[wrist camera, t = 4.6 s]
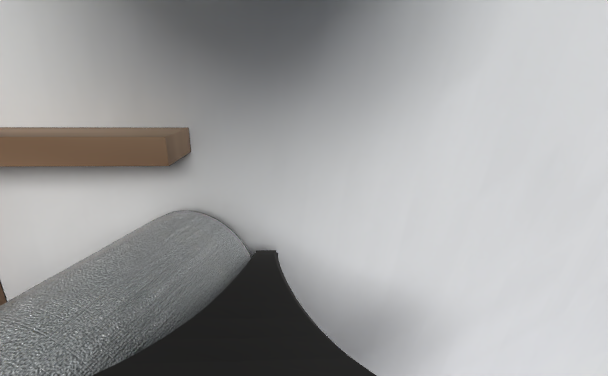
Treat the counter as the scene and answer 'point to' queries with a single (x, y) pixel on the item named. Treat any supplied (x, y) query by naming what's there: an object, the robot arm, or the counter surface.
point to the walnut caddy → (92, 148)
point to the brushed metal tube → (120, 297)
